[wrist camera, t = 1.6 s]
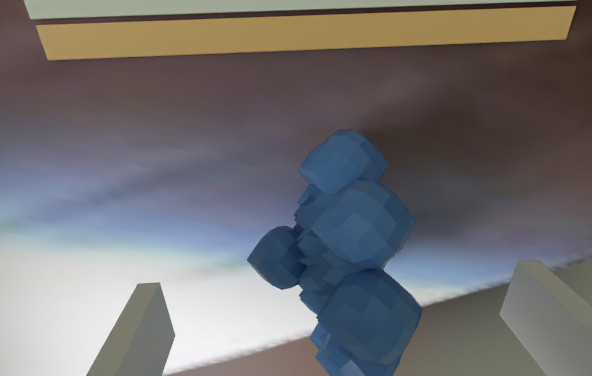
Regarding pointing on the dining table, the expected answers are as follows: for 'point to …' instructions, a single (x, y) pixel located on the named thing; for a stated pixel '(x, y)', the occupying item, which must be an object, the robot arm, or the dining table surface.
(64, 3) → the mat
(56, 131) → the dining table surface
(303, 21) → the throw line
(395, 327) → the grapes
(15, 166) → the dining table surface
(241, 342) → the dining table surface
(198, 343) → the dining table surface
